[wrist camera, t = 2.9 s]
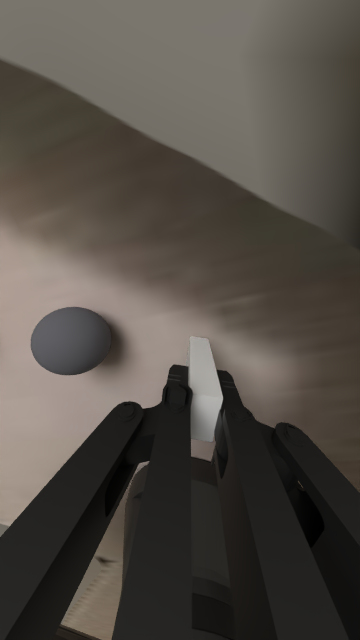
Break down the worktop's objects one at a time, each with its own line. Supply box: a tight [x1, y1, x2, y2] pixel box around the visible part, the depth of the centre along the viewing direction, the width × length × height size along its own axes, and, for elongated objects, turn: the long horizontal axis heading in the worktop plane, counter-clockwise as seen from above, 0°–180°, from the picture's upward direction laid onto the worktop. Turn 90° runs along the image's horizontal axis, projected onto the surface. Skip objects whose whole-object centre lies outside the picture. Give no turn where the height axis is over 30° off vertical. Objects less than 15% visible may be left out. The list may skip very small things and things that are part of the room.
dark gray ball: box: [31, 307, 111, 375], centre depth 14 cm, size 6×6×6 cm
